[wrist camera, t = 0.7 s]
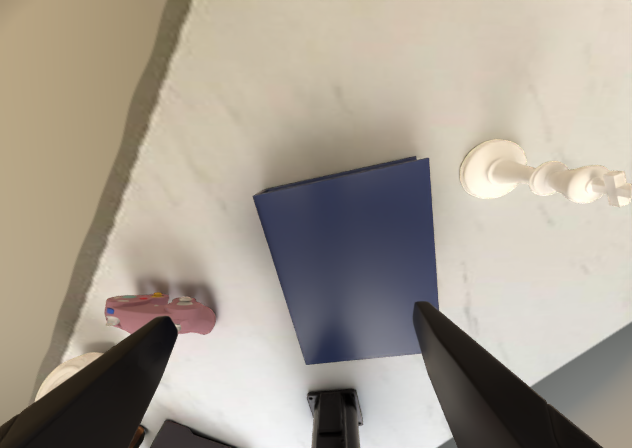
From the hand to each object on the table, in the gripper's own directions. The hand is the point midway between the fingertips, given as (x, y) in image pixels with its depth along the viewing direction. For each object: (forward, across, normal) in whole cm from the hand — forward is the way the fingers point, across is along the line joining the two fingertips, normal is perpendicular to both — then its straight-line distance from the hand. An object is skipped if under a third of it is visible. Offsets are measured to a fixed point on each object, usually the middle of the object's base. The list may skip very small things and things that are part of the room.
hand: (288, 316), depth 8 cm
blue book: (+13, -4, +8) cm, 16 cm away
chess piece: (+14, -16, 0) cm, 21 cm away
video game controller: (+13, +17, +12) cm, 25 cm away
